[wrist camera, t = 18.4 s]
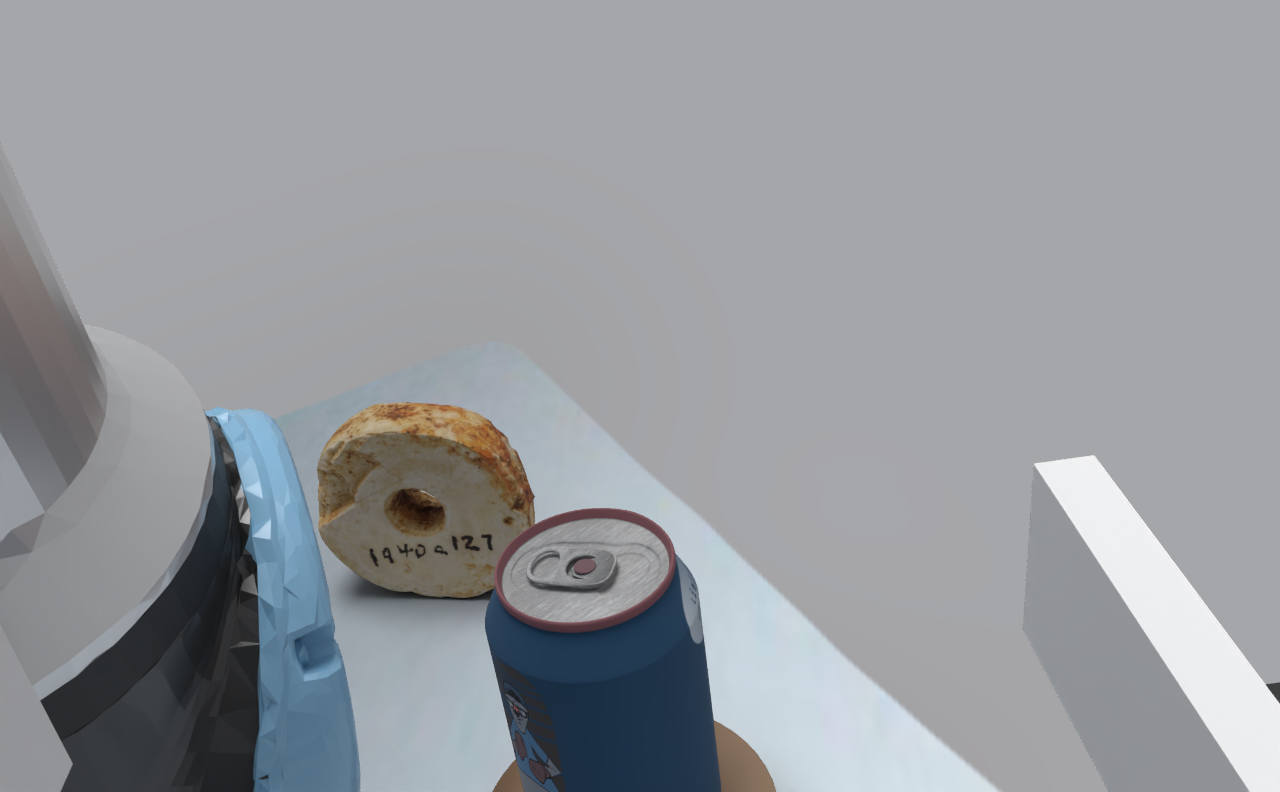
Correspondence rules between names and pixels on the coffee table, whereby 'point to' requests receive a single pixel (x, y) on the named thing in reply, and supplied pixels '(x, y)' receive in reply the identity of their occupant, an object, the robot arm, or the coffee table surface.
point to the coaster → (739, 764)
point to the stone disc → (422, 498)
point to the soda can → (602, 658)
